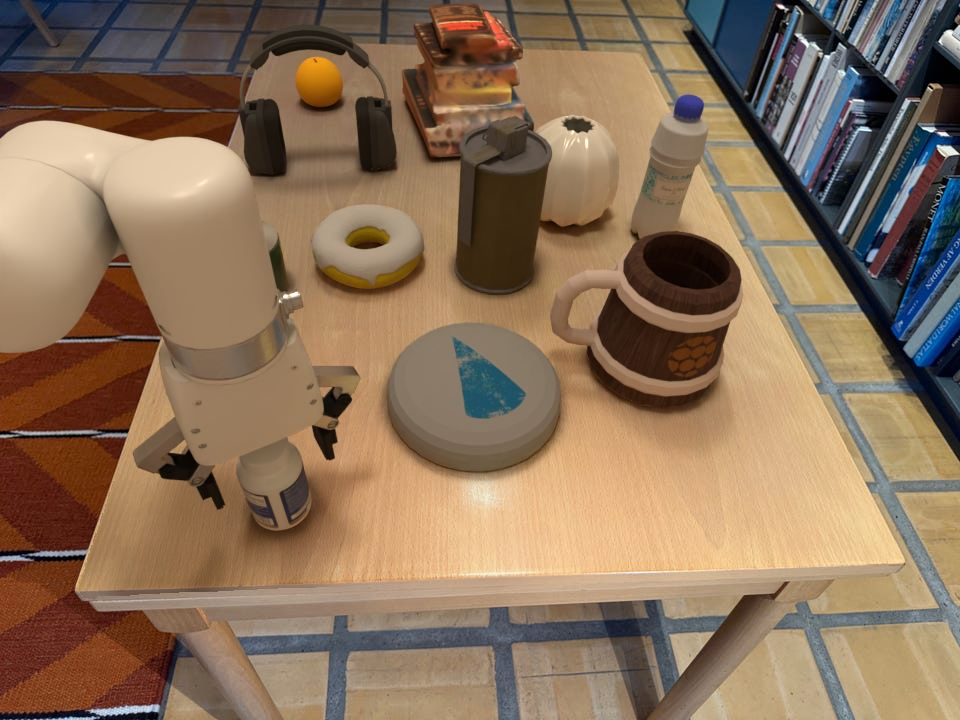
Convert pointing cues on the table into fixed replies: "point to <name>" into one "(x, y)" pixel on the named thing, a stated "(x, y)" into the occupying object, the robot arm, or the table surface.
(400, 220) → the donut
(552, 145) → the vase
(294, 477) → the pill bottle
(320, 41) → the headphones
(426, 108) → the book
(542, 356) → the frisbee
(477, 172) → the canister
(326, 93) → the orange
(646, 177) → the bottle
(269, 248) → the tin can
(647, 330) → the mug
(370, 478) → the table surface
